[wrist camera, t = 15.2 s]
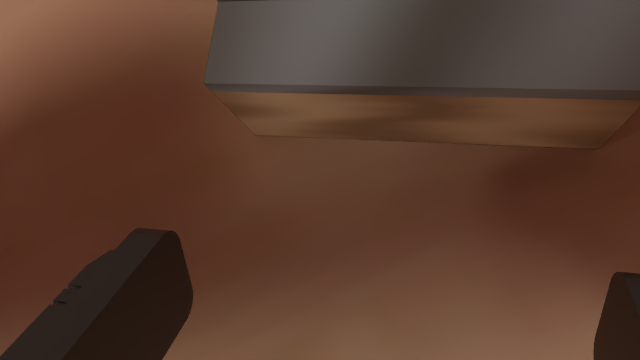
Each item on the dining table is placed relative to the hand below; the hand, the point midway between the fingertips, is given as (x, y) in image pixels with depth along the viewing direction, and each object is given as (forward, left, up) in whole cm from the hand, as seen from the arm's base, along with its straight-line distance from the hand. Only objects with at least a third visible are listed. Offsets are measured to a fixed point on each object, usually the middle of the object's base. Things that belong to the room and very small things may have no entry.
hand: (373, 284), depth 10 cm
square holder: (0, +12, -8) cm, 14 cm away
